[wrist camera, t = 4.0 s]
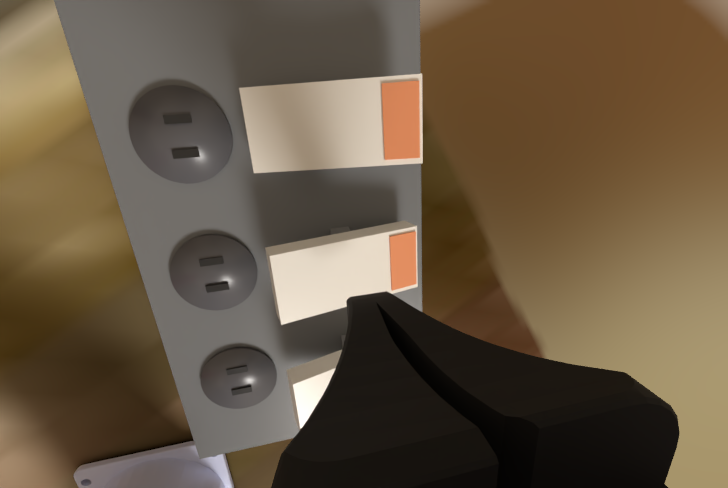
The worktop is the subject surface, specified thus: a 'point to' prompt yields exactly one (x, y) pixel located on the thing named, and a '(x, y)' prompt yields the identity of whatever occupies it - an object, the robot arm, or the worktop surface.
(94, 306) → the worktop surface
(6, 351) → the worktop surface
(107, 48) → the power strip
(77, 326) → the worktop surface
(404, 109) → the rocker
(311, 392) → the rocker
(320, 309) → the middle rocker
